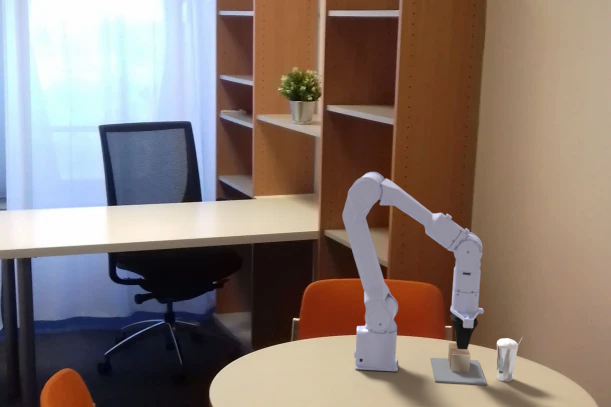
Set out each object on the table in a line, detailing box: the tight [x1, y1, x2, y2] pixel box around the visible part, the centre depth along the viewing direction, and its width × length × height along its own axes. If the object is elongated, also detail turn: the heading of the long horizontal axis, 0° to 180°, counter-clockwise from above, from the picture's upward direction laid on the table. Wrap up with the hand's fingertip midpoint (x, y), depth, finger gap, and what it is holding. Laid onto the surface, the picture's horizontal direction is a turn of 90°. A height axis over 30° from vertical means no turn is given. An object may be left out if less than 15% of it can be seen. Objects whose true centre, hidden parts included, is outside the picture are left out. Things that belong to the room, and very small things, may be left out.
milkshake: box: [496, 336, 523, 383], centre depth 161 cm, size 4×5×10 cm
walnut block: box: [447, 342, 471, 372], centre depth 167 cm, size 4×4×7 cm
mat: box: [430, 357, 488, 386], centre depth 165 cm, size 11×13×1 cm
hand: (462, 348), depth 163 cm, fingers closed
